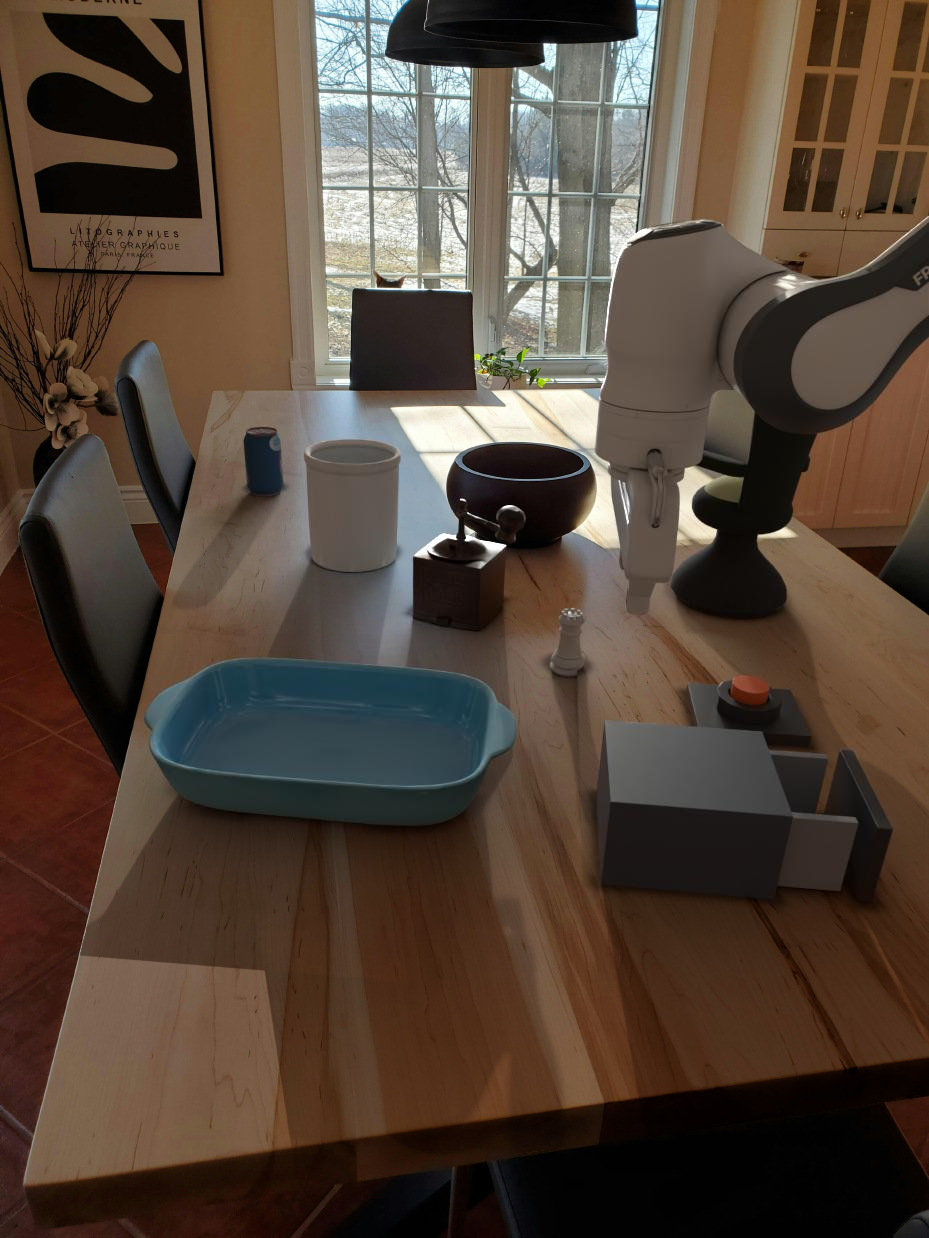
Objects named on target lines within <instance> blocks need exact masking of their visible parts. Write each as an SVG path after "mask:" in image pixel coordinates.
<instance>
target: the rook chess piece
mask: <svg viewBox="0 0 929 1238" xmlns="http://www.w3.org/2000/svg"><path fill="white" fill-rule="evenodd" d="M557 620H558V621H559V623H560V625H561V627H559V629H558V630H559V632H560V636H559V641H558V644H557V648H556V649H555V650H554V653H552V655H551V657H550V661H551V662H550V663H549V667H550V669H551V670H552V672H553V673H554V674H555V675H557V676H560V677H563V678H576V677H578V671H580V670H582V668H583V667H584V665H586V657H585V656H584V655H583V651H582V648H581V634H582V633H583V630H582V628H581V627H582V625H583V624H584V623H585V622H586V619H585V617H584V616H583V612H582V610H581V609H577V610H576V608H574V607H571V608H570V610H569V608H567V607H566V608H564V609H563V610H562V611H561V614H560V615H559V616H558V619H557Z"/></svg>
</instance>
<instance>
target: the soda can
mask: <svg viewBox="0 0 929 1238" xmlns="http://www.w3.org/2000/svg"><path fill="white" fill-rule="evenodd" d="M242 441H243V442H242V443H243V453H244V465H245V466H244V468H245V478H246V479H245V480H246V487H247V489H248V490H249V492H250V493H251V495H254V496H257V497H272V496H277V495H279V494H280V493H281V492H282V491H283V488H284V485H285V482H284V467H283V454H282V438H281V437H280V435H279V433H278V429H277V428H275V427H271V426H255V427H250V428H248V429H246V430H245V435H244V438H243V440H242Z"/></svg>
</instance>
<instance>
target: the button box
mask: <svg viewBox="0 0 929 1238" xmlns="http://www.w3.org/2000/svg"><path fill="white" fill-rule="evenodd" d="M732 682H733V679H728V680H724V681H722V682H720V684H715V683H701V682H697V683H696V682H686V689H685V695H686V699H687V704H688V708H689V712H690V715H691V720H692V724H693V727H705V728H719V729H733V730H746V731H760V732H763V735H764V738H765V741H766V743H767V745H772V746H773V745H774V746H775V745H776V746H787V747H799V748H810V746H811V742H812V737H813V736H812V734H811V731H810V729H809V727H808V724H807V723H806V721H805V718H804V716H803V713H802V712H801V709H800V707H799V705H798V702H797V701H796V698H795V696H794V694H793V692H792V690H791V689H786V688H773V687H771V686H770V689H769V694H768V699H767V702H766V704H762V705H747V704H744V703H741V702H738V701H736V700H735V699H733V698H732V697H731V696H730V693H731V687H732Z"/></svg>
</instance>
